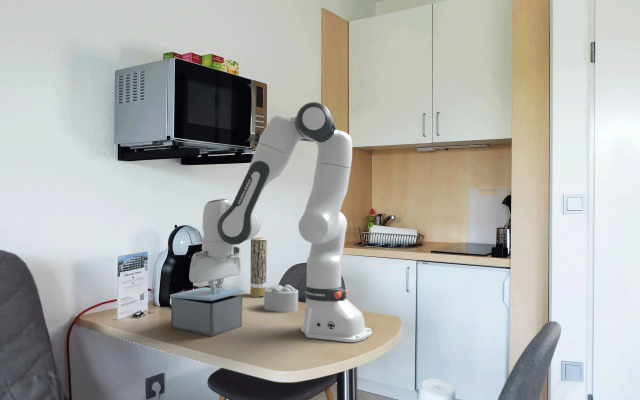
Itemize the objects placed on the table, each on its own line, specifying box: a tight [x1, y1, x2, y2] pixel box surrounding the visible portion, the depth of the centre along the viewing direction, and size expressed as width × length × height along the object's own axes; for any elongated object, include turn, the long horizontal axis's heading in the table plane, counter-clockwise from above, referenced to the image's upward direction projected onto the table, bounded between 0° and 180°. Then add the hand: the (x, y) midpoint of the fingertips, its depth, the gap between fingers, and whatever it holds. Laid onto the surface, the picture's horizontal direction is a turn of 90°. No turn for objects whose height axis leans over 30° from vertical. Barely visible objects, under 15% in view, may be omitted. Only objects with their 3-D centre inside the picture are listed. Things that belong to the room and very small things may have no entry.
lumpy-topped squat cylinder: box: [263, 284, 299, 313], centre depth 176 cm, size 10×13×9 cm
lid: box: [169, 287, 244, 301], centre depth 150 cm, size 18×15×1 cm
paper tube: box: [249, 236, 268, 298], centre depth 198 cm, size 7×7×25 cm
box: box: [170, 294, 243, 338], centre depth 150 cm, size 18×14×10 cm
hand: (215, 292), depth 147 cm, fingers closed, pressing on lid
